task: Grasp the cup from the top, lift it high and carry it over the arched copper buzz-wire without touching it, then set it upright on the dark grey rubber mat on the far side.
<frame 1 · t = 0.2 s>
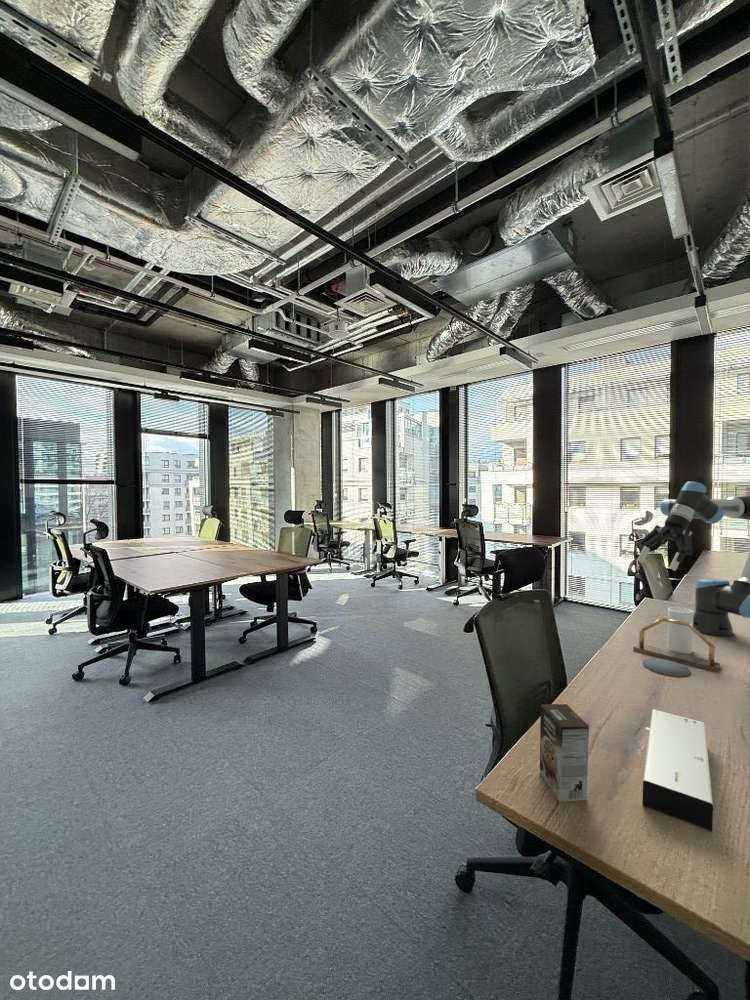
hand: (655, 565, 166), 34 cm above the table, tool tilted 30°, fingers open, 13 cm apart
buzz wire: (674, 658, 160), on the table
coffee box: (562, 787, 93), on the table
mat: (665, 667, 152), on the table
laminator: (673, 774, 98), on the table
cup: (679, 650, 169), on the table
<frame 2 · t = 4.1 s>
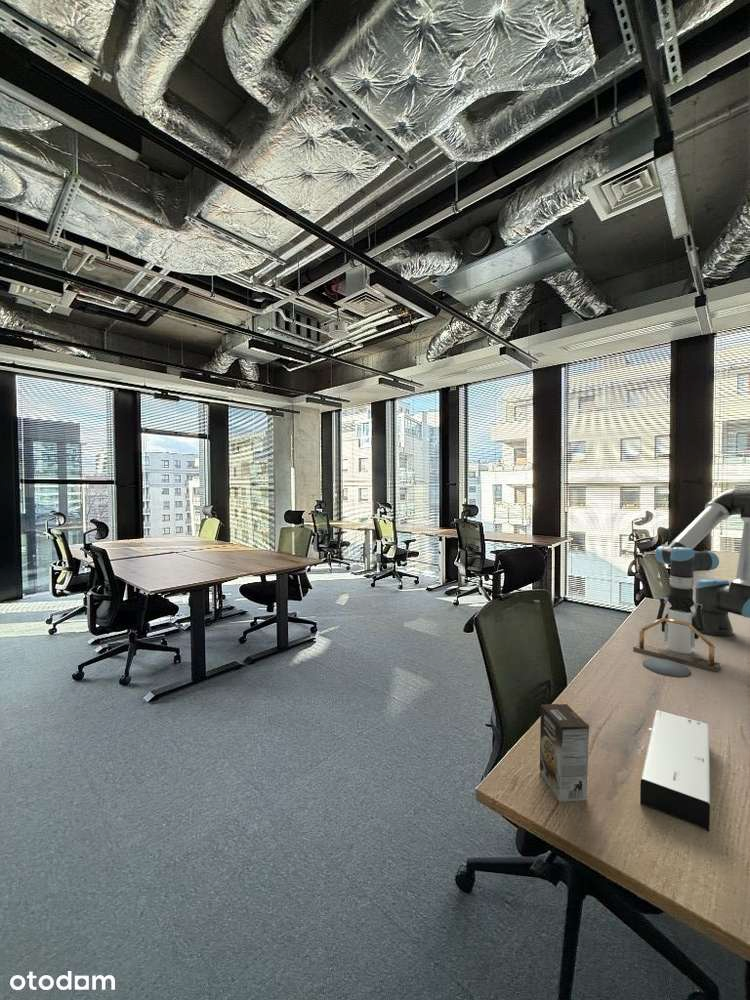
hand: (679, 643, 169), 3 cm above the table, tool pointing down, fingers closed on cup, 8 cm apart
cup: (679, 649, 169), on the table, touching gripper
everything else where it was.
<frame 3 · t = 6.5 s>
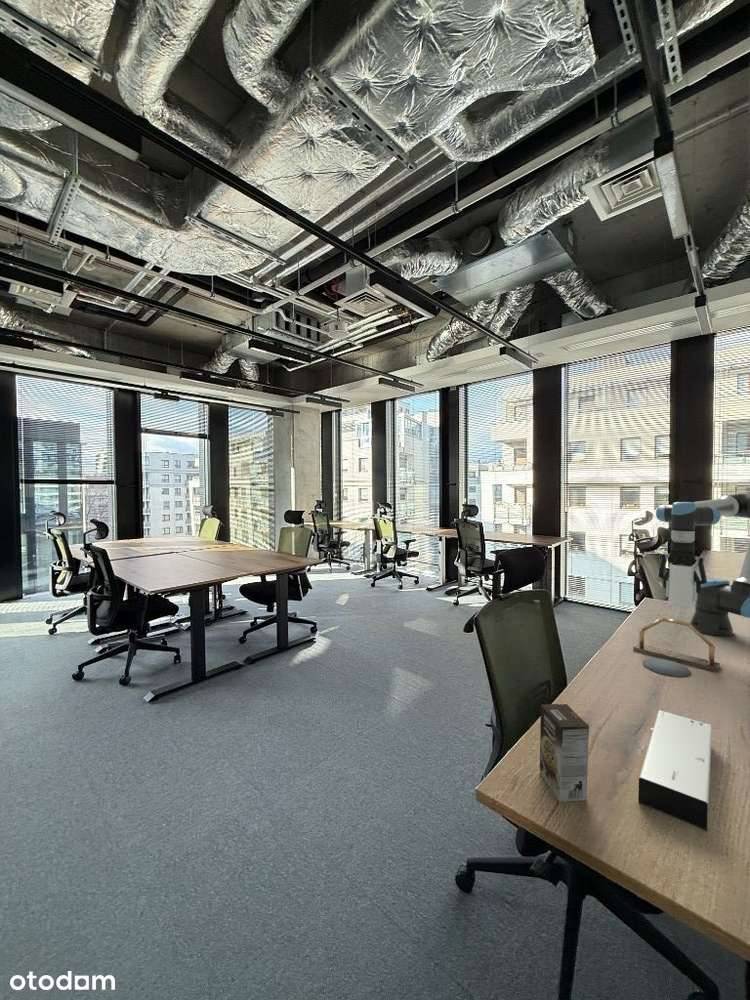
hand: (681, 598, 169), 21 cm above the table, tool pointing down, fingers closed on cup, 8 cm apart
cup: (681, 605, 169), point 18 cm above the table, touching gripper
everything else where it was.
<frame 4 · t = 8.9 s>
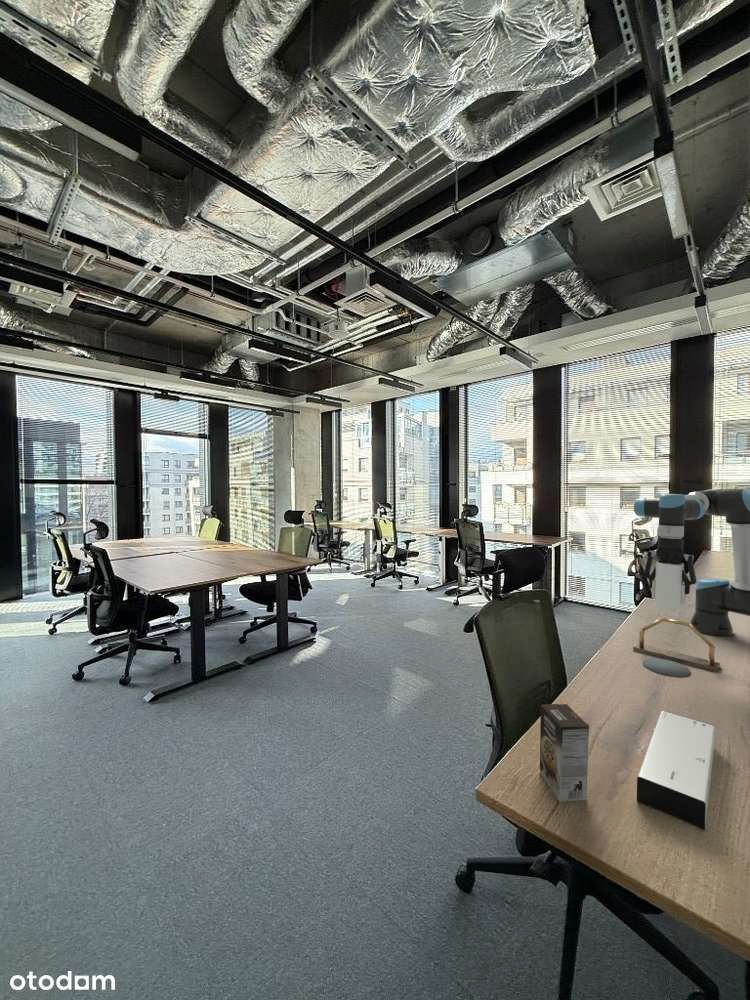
hand: (668, 600, 152), 24 cm above the table, tool pointing down, fingers closed on cup, 8 cm apart
cup: (668, 607, 153), point 22 cm above the table, touching gripper
everything else where it was.
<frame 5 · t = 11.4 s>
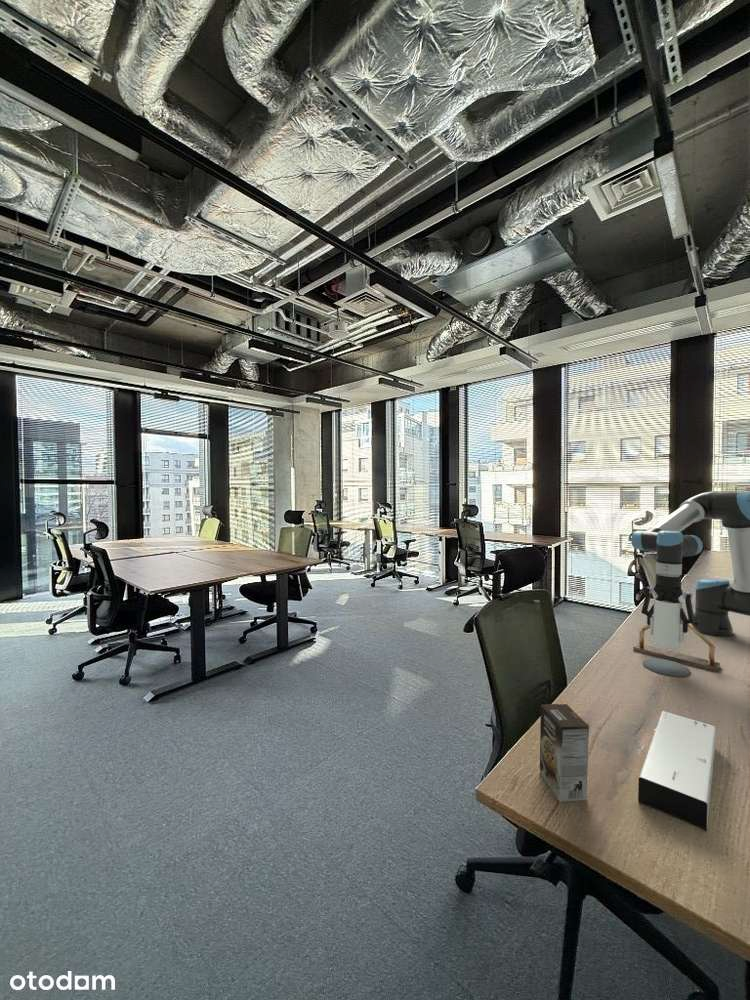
hand: (666, 637, 152), 11 cm above the table, tool pointing down, fingers closed on cup, 8 cm apart
cup: (666, 645, 152), point 8 cm above the table, touching gripper
when the fingers open (4 cm above the table, at t = 13.7 s): cup stays where it is, resting on mat.
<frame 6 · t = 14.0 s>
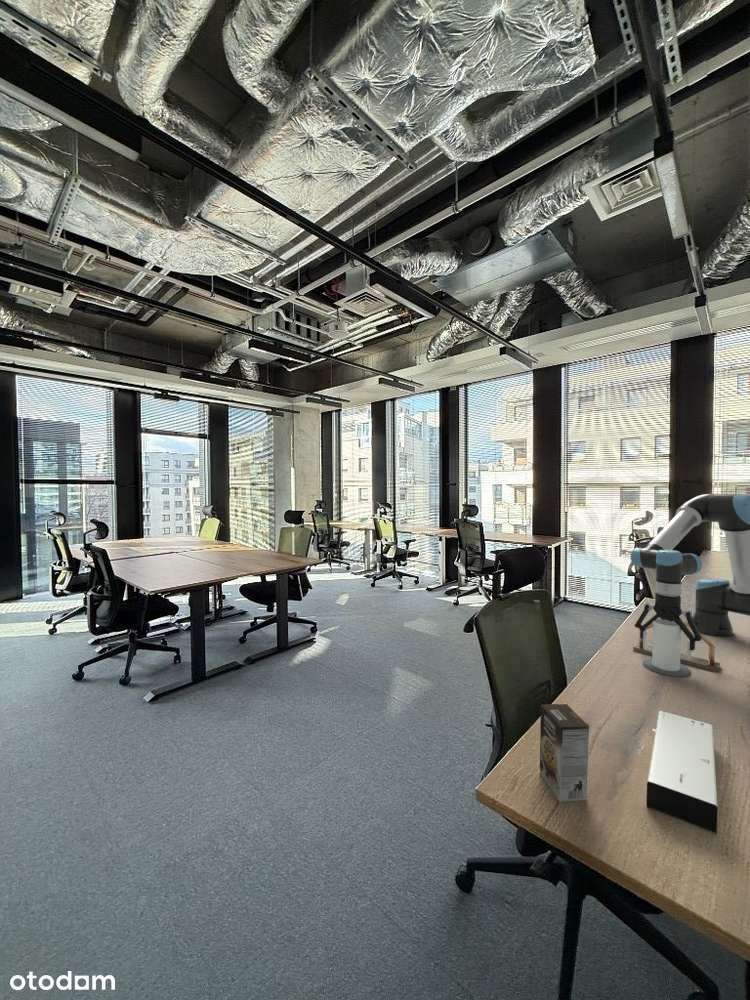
hand: (666, 653, 152), 5 cm above the table, tool pointing down, fingers open, 12 cm apart
cup: (665, 666, 152), resting on mat
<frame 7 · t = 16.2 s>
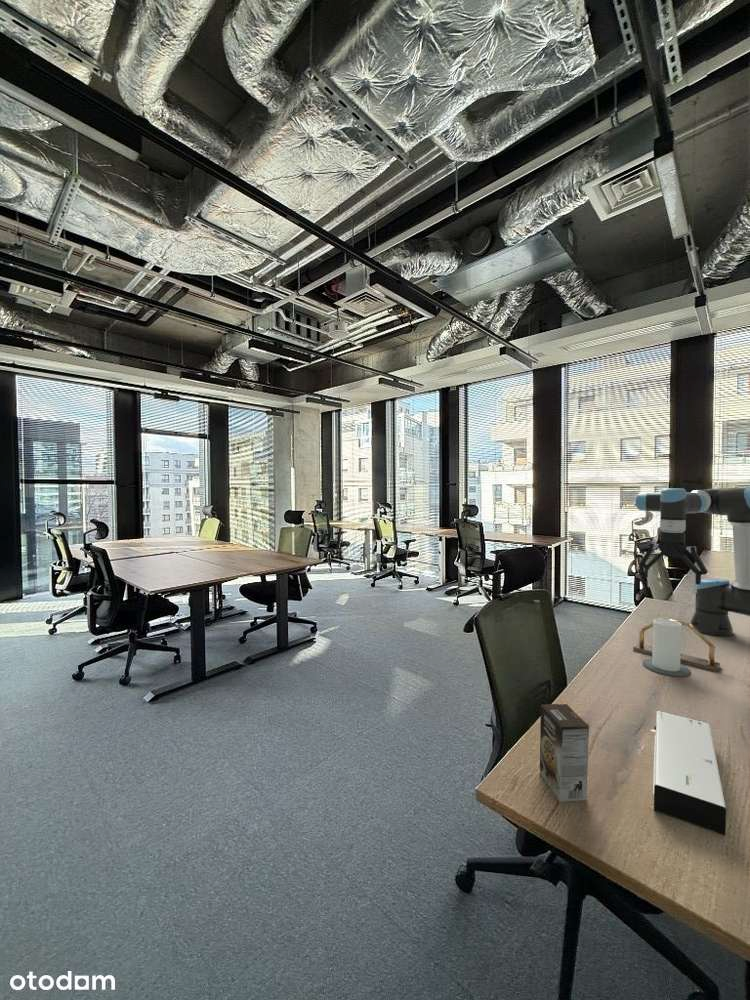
hand: (671, 589, 154), 28 cm above the table, tool pointing down, fingers open, 13 cm apart
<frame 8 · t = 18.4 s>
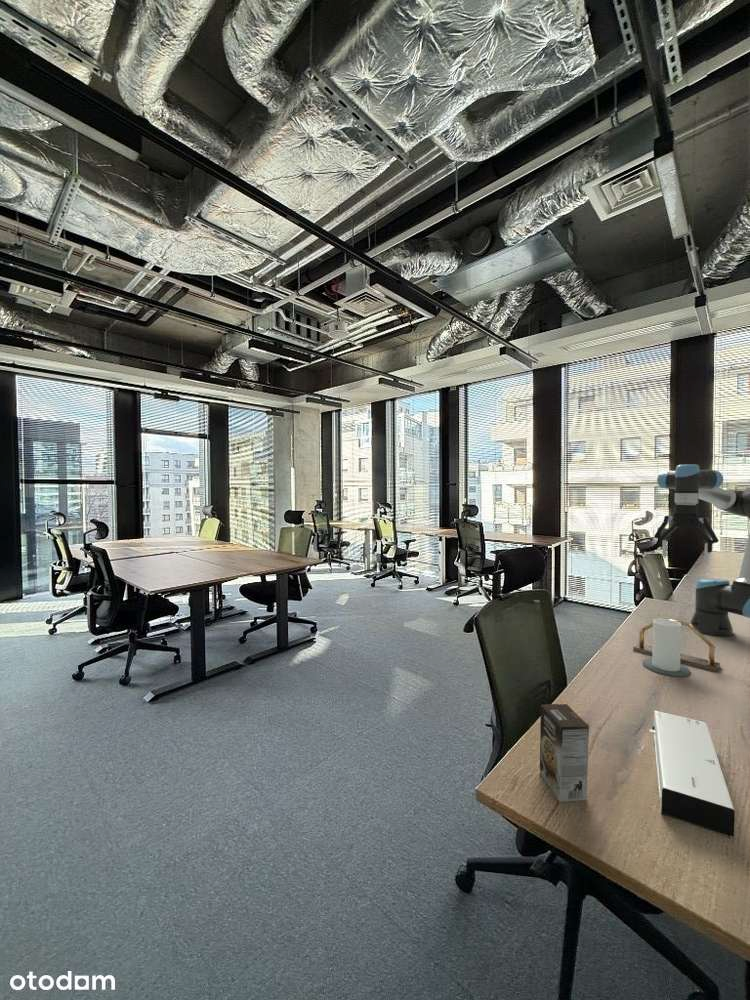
hand: (684, 558, 166), 37 cm above the table, tool pointing down, fingers open, 13 cm apart
at the end: cup inside the target area on the mat (0.0 cm from its centre), point 0.4 cm above the mat's base; cup tilted 0°; the gripper is holding nothing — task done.
